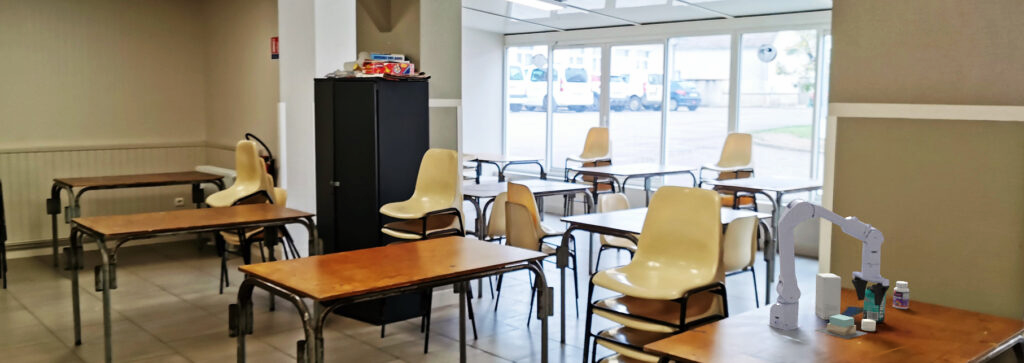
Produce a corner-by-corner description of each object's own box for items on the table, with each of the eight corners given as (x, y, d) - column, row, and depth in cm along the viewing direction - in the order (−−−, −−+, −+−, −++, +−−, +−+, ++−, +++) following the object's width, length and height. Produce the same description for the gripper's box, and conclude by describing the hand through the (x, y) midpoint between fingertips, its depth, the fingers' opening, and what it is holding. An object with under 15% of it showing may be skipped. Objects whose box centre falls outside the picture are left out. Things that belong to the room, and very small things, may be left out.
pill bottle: (889, 306, 316) (891, 281, 315) (900, 305, 318) (902, 280, 317) (900, 309, 311) (901, 284, 310) (911, 308, 313) (913, 283, 312)
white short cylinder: (870, 333, 278) (871, 323, 278) (858, 330, 282) (859, 320, 281) (877, 331, 281) (878, 321, 280) (865, 328, 284) (866, 318, 284)
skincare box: (840, 320, 293) (842, 277, 292) (821, 320, 293) (823, 277, 292) (831, 314, 302) (833, 272, 300) (813, 314, 302) (815, 272, 300)
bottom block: (844, 335, 273) (844, 328, 272) (826, 331, 278) (827, 323, 278) (855, 332, 276) (856, 325, 276) (838, 328, 282) (838, 321, 281)
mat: (846, 340, 269) (846, 339, 269) (814, 331, 279) (814, 330, 279) (867, 334, 276) (867, 333, 276) (835, 326, 286) (835, 325, 286)
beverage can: (880, 319, 297) (882, 286, 295) (887, 324, 290) (889, 290, 288) (860, 318, 297) (861, 285, 296) (866, 323, 290) (868, 289, 289)
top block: (844, 327, 273) (844, 320, 273) (829, 323, 278) (829, 316, 277) (853, 325, 276) (854, 318, 276) (839, 321, 281) (839, 314, 281)
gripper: (897, 266, 274) (895, 306, 275) (864, 258, 287) (862, 296, 289) (880, 267, 271) (878, 308, 273) (848, 259, 285) (846, 298, 286)
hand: (869, 302), depth 280 cm, fingers open, 7 cm apart
